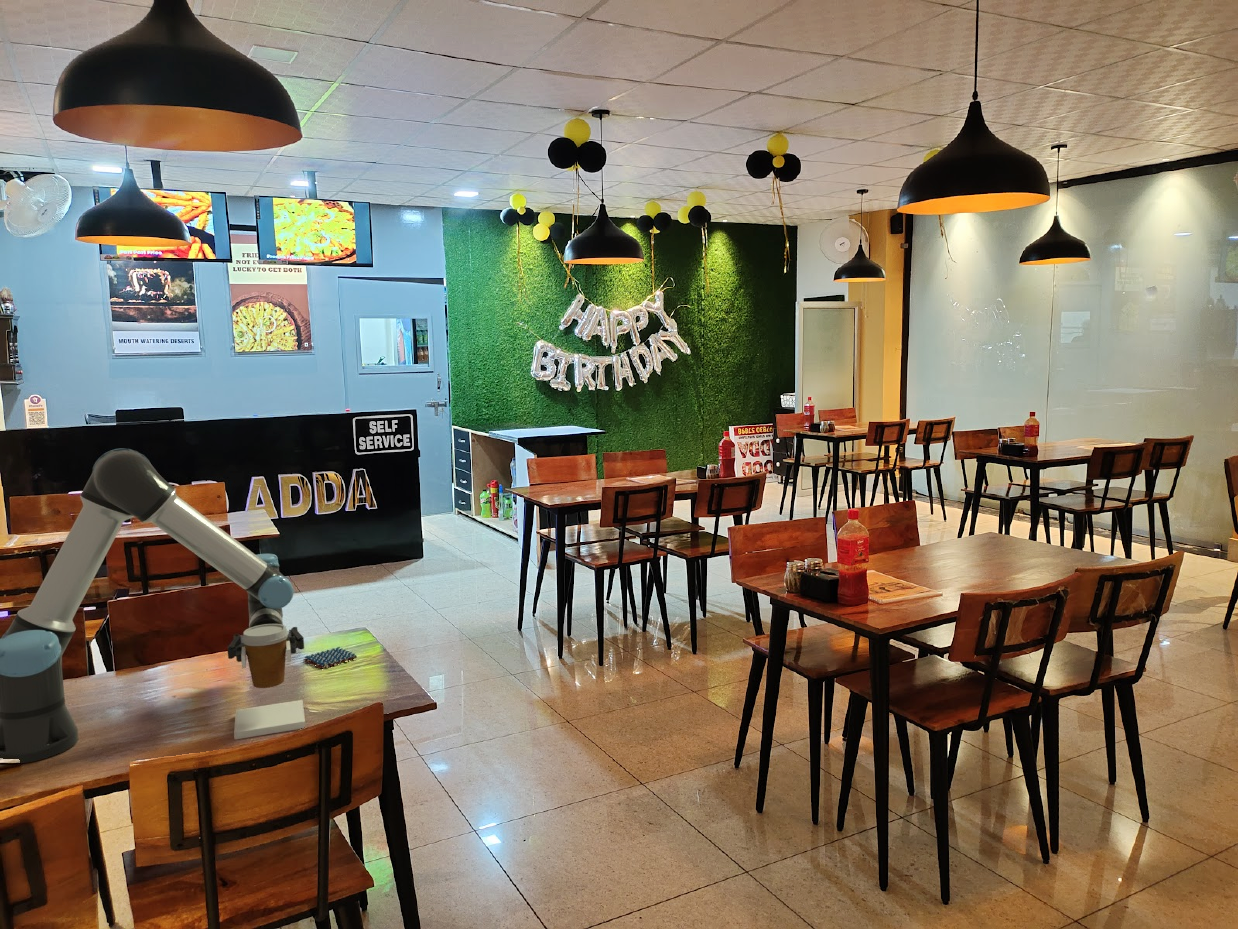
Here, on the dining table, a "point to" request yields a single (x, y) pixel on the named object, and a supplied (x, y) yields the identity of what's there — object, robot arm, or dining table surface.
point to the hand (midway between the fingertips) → (266, 659)
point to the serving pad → (269, 719)
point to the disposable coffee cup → (266, 654)
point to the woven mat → (329, 657)
